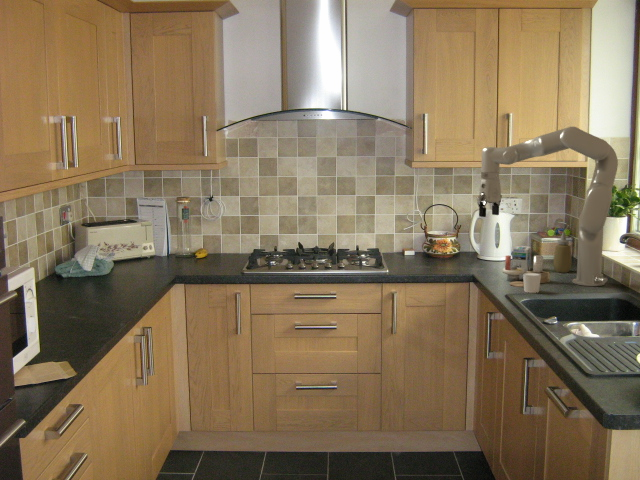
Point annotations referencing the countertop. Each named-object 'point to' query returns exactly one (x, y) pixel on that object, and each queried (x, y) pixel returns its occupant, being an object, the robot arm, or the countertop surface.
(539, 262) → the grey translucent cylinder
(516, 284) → the coaster
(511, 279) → the wheel post
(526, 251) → the light bulb box
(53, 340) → the countertop surface
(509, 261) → the crank wheel
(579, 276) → the robot arm
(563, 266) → the squeeze bottle
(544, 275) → the block
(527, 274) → the white cup
